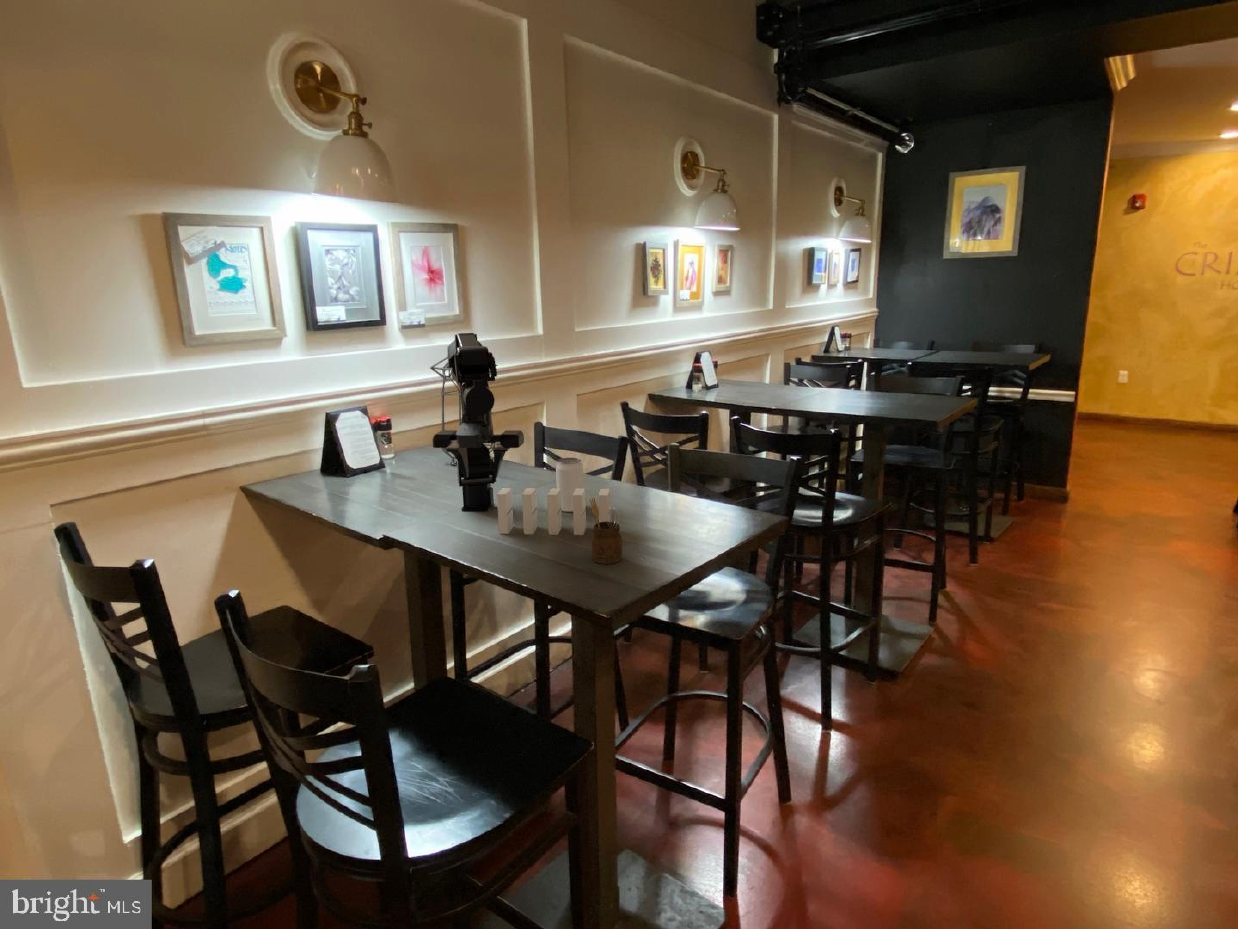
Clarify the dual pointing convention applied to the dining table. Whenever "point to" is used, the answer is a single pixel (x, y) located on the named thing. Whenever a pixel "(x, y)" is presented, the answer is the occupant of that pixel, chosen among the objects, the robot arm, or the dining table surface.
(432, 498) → the dining table surface
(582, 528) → the domino
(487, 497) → the robot arm
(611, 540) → the utensil holder
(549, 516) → the domino
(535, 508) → the domino
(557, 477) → the can
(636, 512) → the dining table surface
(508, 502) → the domino
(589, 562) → the dining table surface
